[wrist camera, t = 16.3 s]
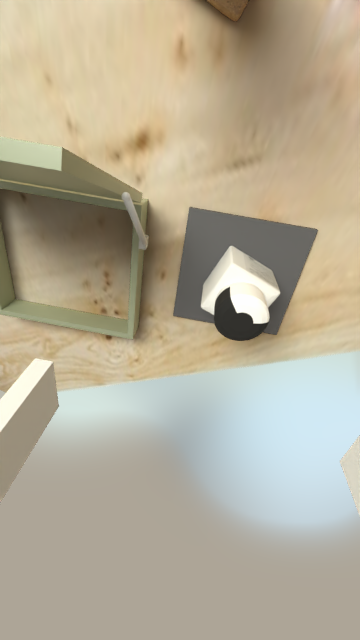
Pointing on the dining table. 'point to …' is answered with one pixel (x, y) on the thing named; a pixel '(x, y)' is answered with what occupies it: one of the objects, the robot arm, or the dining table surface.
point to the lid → (58, 170)
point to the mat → (252, 239)
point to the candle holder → (230, 7)
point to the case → (4, 303)
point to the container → (239, 295)
